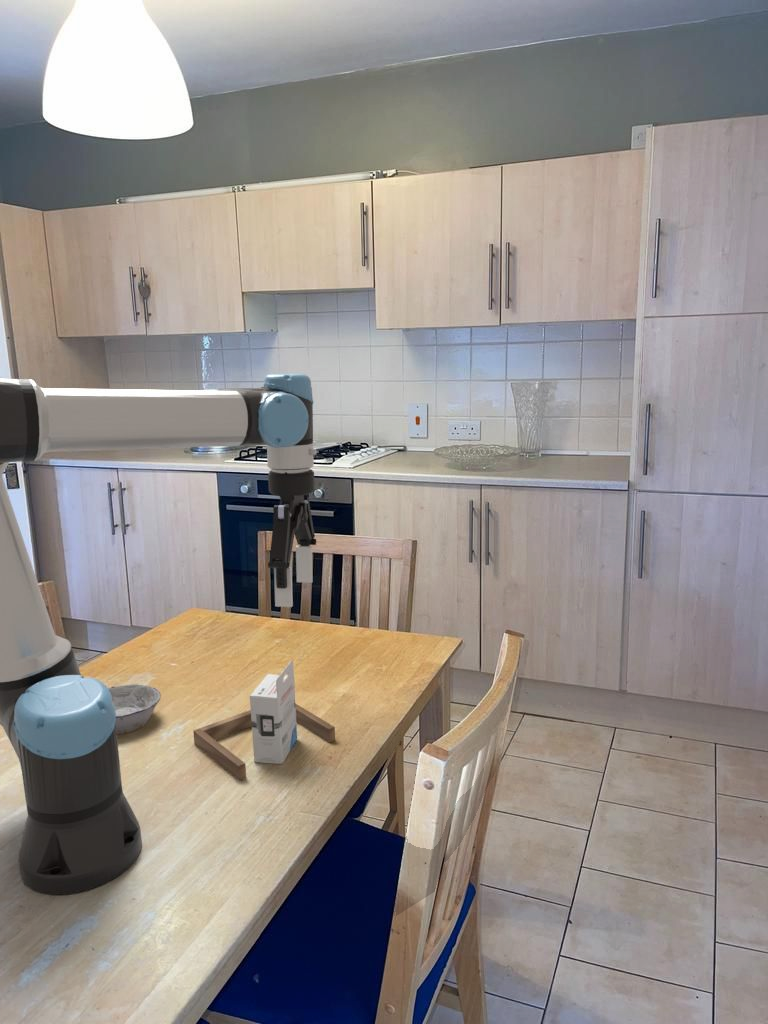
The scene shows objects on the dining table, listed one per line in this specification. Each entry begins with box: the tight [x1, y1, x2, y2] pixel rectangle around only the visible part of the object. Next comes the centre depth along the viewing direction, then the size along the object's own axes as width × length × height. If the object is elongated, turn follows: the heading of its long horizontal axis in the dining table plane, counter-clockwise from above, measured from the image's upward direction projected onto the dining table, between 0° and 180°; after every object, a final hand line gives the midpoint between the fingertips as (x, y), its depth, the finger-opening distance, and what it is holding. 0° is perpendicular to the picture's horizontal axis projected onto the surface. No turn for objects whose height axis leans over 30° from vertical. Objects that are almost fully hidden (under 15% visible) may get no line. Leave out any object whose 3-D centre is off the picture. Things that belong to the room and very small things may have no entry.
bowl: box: [107, 683, 162, 735], centre depth 140 cm, size 13×13×5 cm
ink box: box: [249, 659, 298, 765], centre depth 128 cm, size 9×5×15 cm, turn 168°
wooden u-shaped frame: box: [192, 702, 336, 781], centre depth 132 cm, size 18×15×2 cm
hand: (294, 593), depth 132 cm, fingers open, 13 cm apart
